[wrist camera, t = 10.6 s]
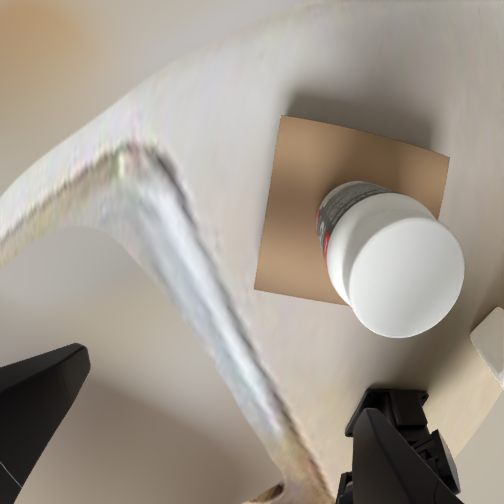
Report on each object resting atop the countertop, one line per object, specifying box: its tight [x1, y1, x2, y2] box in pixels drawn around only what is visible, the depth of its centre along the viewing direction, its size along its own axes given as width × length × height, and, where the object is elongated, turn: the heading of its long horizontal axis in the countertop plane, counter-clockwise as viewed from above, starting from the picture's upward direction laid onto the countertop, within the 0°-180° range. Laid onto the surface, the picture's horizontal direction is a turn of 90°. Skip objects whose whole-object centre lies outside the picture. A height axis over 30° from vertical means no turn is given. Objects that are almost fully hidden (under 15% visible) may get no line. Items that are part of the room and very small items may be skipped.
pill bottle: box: [316, 181, 465, 338], centre depth 12 cm, size 5×5×8 cm
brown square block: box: [254, 115, 450, 306], centre depth 17 cm, size 10×10×3 cm
